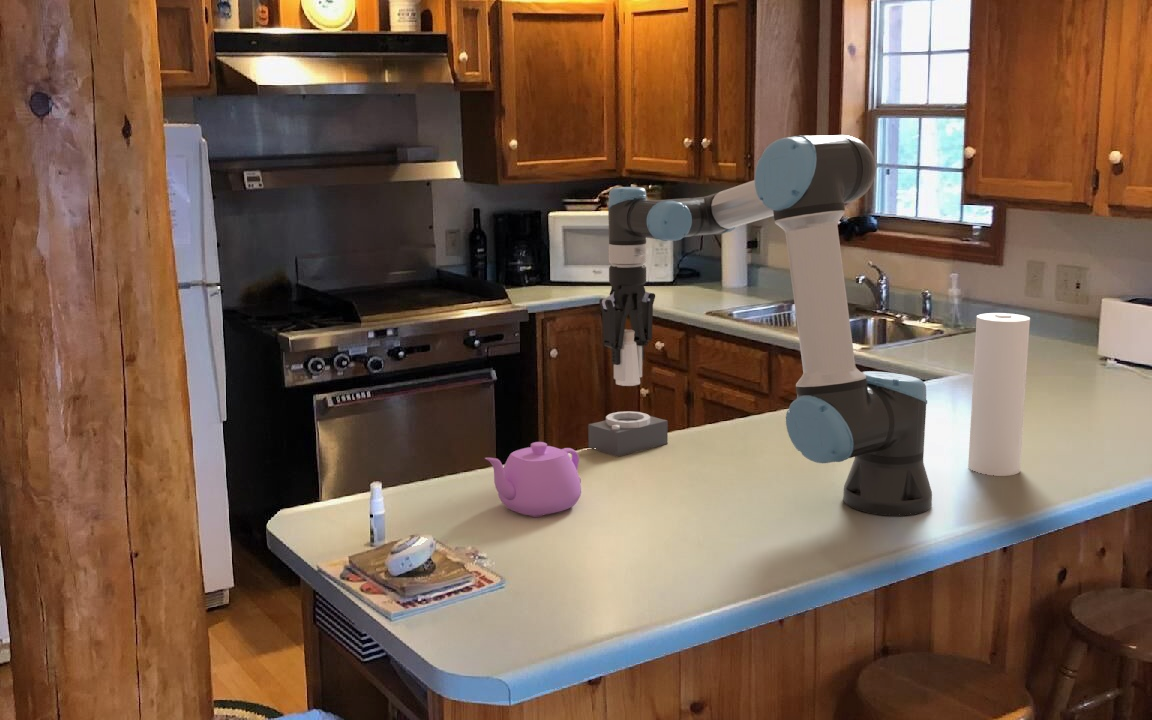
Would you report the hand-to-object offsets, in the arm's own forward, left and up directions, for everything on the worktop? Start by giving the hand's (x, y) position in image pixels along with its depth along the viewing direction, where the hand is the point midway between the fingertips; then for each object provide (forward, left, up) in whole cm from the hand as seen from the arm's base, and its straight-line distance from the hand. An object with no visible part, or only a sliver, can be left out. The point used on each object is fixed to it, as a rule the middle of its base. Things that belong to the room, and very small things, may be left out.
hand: (628, 377), depth 245 cm
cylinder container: (+12, -71, -15) cm, 74 cm away
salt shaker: (0, 0, -1) cm, 1 cm away
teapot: (-43, 0, -15) cm, 45 cm away
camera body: (0, 0, -15) cm, 15 cm away
